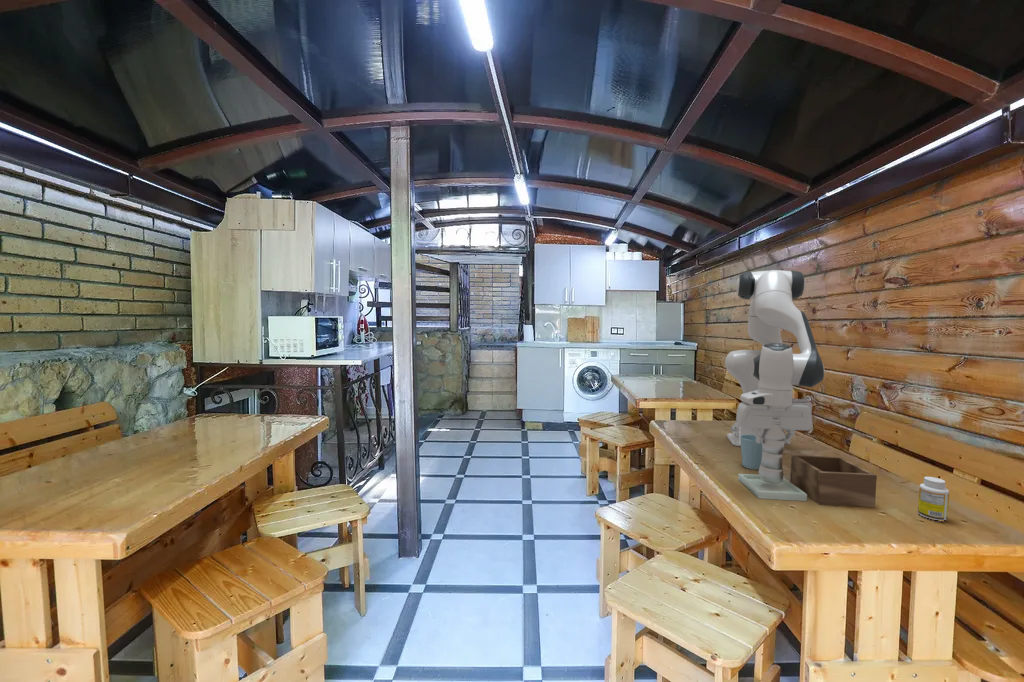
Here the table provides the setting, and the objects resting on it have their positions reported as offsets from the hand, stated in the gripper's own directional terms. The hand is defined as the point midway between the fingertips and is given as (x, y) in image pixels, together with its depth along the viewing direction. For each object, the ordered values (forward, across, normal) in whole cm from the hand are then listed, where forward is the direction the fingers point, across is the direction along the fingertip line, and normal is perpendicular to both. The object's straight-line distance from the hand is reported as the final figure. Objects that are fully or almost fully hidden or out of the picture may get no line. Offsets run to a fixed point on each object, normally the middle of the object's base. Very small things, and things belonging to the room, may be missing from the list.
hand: (772, 443), depth 127 cm
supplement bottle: (+14, -34, +13) cm, 39 cm away
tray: (+14, 0, 0) cm, 14 cm away
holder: (+14, -16, +1) cm, 21 cm away
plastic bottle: (+12, 0, 0) cm, 12 cm away
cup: (+14, -3, -20) cm, 25 cm away
